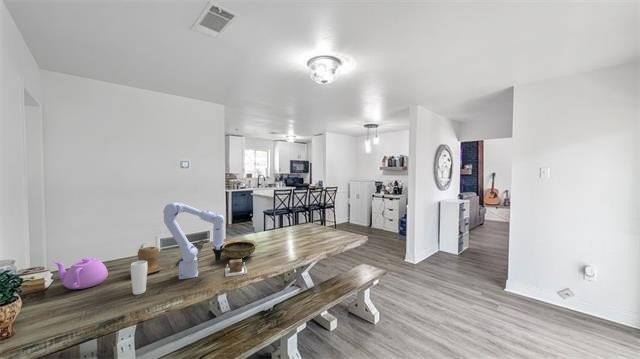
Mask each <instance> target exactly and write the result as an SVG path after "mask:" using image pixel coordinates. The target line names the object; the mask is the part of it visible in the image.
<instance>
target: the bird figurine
mask: <svg viewBox="0 0 640 359" xmlns="http://www.w3.org/2000/svg"><path fill="white" fill-rule="evenodd" d="M207 243H208V240H205V239H200V240H199V241H198V242H197V243H196V244H193V246H194V247H196V248H197V249H198V254H199V253H200V252H201V251H202V249H203V247H204V245H205V244H207ZM180 261H183V259H182V258H180V259H179V260H178V261H177V262H176V263H175V264H174V265H176V266H178V267H179V263H180ZM197 262H199V258H198V257H197Z"/></svg>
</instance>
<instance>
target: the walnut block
mask: <svg viewBox="0 0 640 359" xmlns="http://www.w3.org/2000/svg"><path fill="white" fill-rule="evenodd" d="M242 267H243V259H230V260H229V268H230V273H232V272H241V271H242Z"/></svg>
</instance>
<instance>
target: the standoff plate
mask: <svg viewBox="0 0 640 359" xmlns="http://www.w3.org/2000/svg"><path fill="white" fill-rule="evenodd" d="M224 272H225V278H226V277H233V276H234V277H235V276H242V275H243V274H244V275H247V274H248V270H247V267H246V262H245V261H244V262H243V261H242V271H241V272H232V273H230V267H229V264H228V263H227V264H226V268H225V271H224Z"/></svg>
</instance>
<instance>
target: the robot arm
mask: <svg viewBox="0 0 640 359" xmlns="http://www.w3.org/2000/svg"><path fill="white" fill-rule="evenodd" d="M162 213H163V222H164V224H165V226H166V228H167V229H168V231H169V232H170V234H171V235H172V237H173V239H174V241H175V242H176V243H177V245H178V246H179V248H180V255H181V257H182V258H181V259H183V261H180V263H179V265H178V280H185V279H192V278H198V276H199V270H198V261H197V258H198V257H197V256H198V255H199V253H198V249H197V248H196V247H194V244H193V243H192V242H190V241H189V240H188V238H187V236H186V234H185V233H184V232H183V229H182V228H181V226H180V225H179V223H178V221H177V220H176V219H177V216H178V214H181V213H187V214H190V215H194V216H197V217H199V219H200V220H203V221H205V222H208V223H210V224H213V230H212V231H213V233H212V234H213V235H212V236H213V238H212V239H213V240H212V246H213V247H214V248H212V252H213V254H214V256H215V261H217V262H218V261H221V257H222V254H223V253H222V251H223V248H222V247H223V245H224V244H226V242H227V241H224V240H225V239H224V238H225V237H224V235H225V233H224V230H225V228H224V226H225V225H224V221H225V216H224V215H222V214H221V213H219V214H218V213H216V212H212V211H210V209H207V210H206V209H204V210H200V209H198V208H196V207H193V206H191V205H188V204H185V203H183V202H179V201H173V202H172V203H168V204H166V205H165V206H164V208H163V210H162Z"/></svg>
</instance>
